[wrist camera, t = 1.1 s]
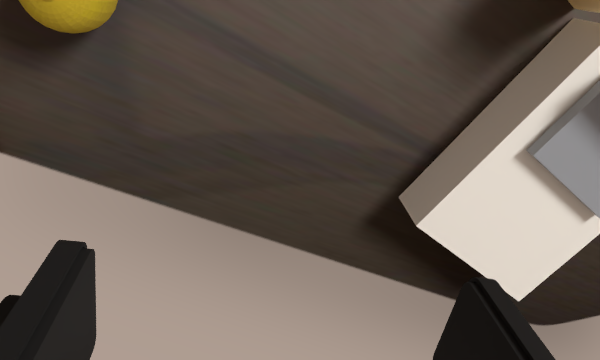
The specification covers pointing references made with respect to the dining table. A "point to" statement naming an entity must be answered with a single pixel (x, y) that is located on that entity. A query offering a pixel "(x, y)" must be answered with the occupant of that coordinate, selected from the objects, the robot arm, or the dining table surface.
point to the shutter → (575, 149)
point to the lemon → (70, 13)
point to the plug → (586, 5)
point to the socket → (513, 174)
